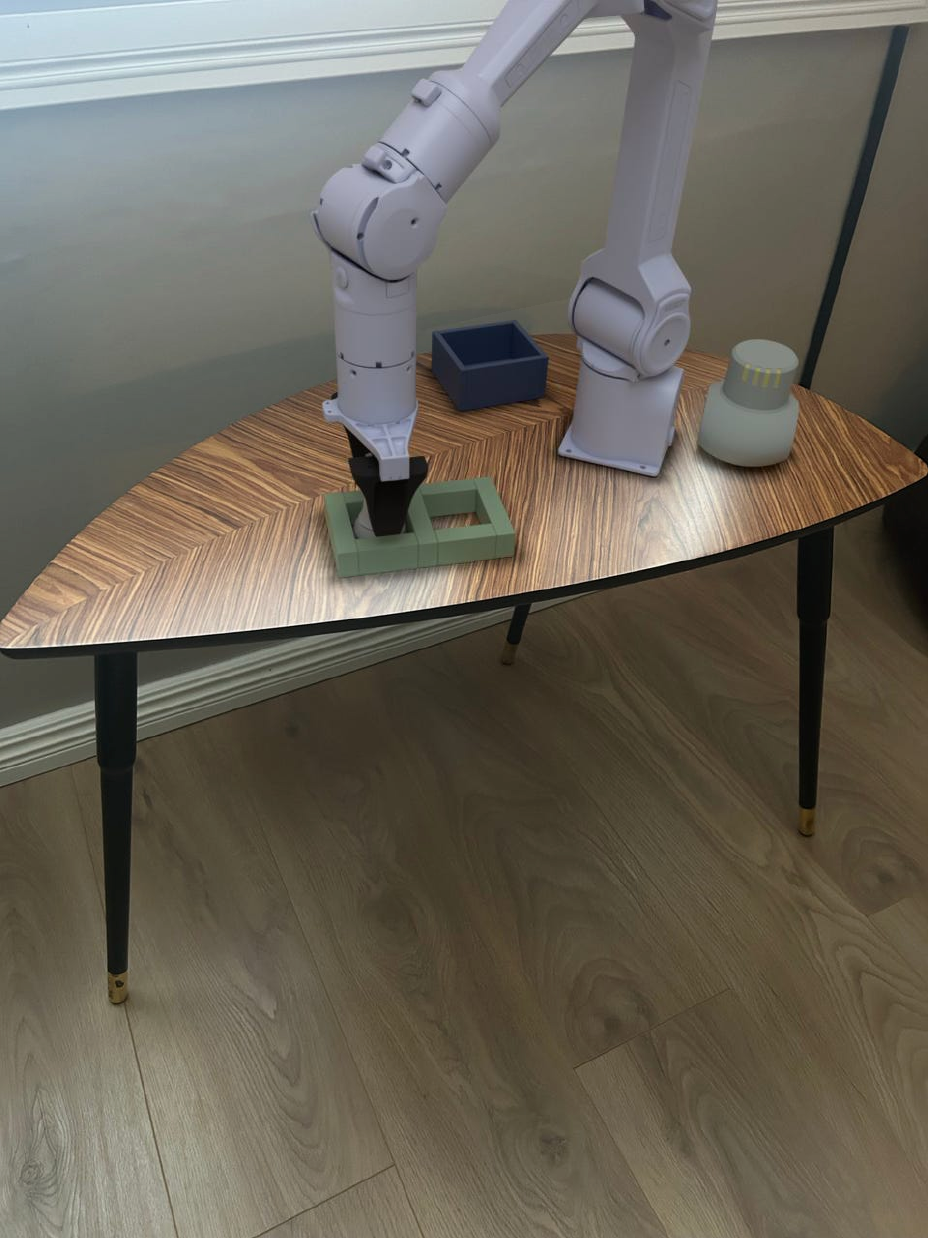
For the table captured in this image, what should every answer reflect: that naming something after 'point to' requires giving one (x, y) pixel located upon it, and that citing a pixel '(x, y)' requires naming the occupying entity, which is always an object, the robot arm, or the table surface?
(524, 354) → the bin
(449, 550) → the frame
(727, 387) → the air freshener
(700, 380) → the table surface
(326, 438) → the table surface
